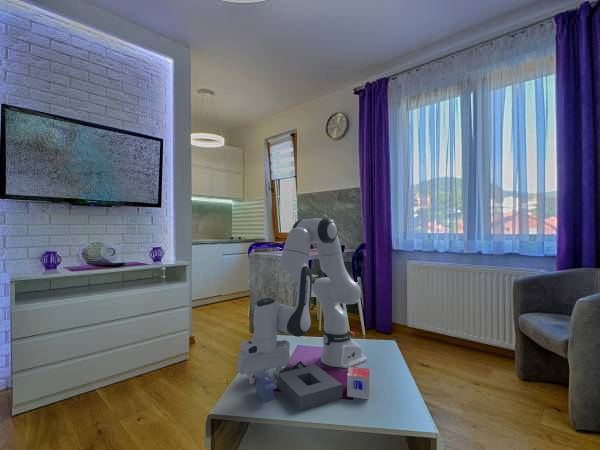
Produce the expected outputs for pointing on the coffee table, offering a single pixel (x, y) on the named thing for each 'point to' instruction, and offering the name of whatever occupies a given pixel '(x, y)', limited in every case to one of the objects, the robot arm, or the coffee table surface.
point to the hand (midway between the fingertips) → (263, 380)
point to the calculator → (297, 366)
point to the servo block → (264, 386)
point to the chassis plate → (309, 387)
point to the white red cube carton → (358, 382)
